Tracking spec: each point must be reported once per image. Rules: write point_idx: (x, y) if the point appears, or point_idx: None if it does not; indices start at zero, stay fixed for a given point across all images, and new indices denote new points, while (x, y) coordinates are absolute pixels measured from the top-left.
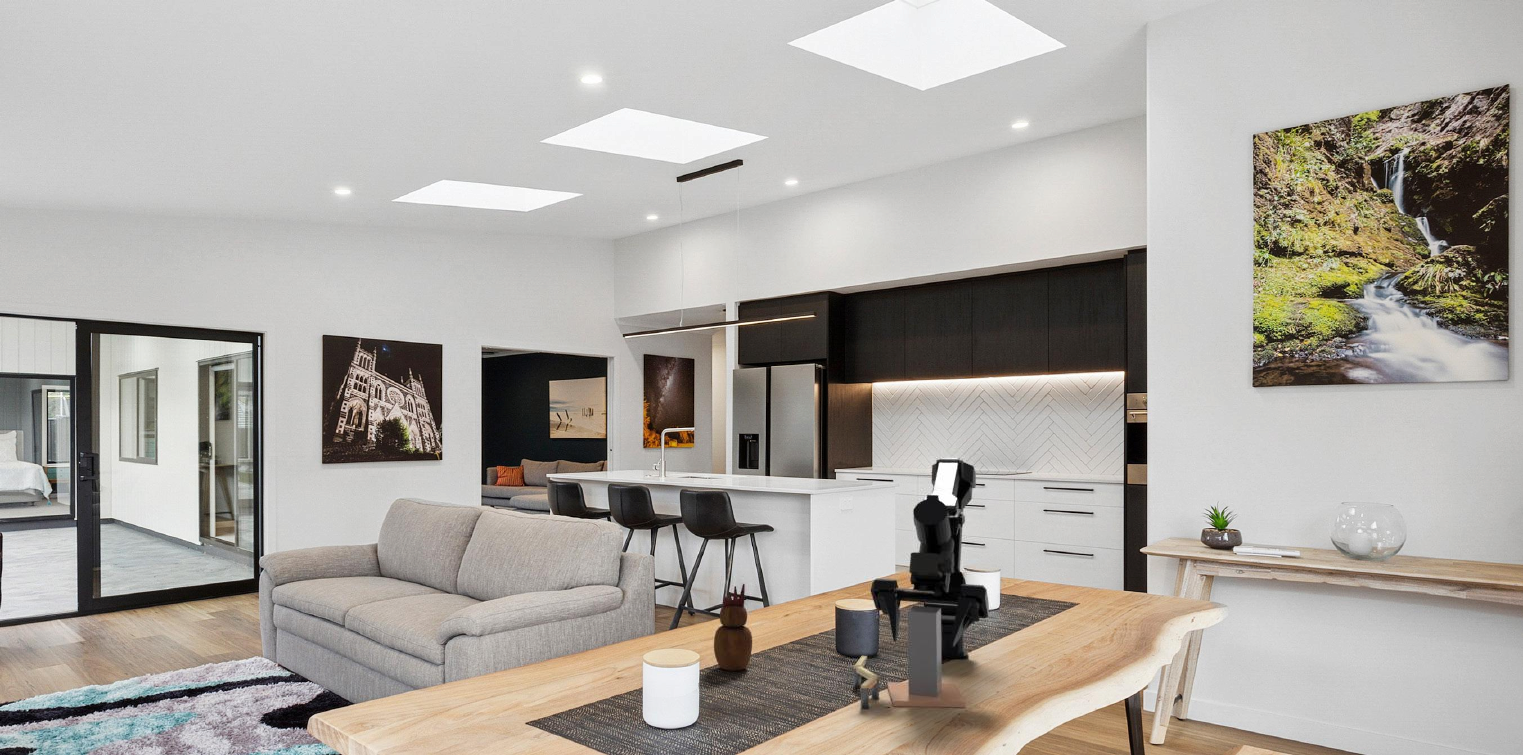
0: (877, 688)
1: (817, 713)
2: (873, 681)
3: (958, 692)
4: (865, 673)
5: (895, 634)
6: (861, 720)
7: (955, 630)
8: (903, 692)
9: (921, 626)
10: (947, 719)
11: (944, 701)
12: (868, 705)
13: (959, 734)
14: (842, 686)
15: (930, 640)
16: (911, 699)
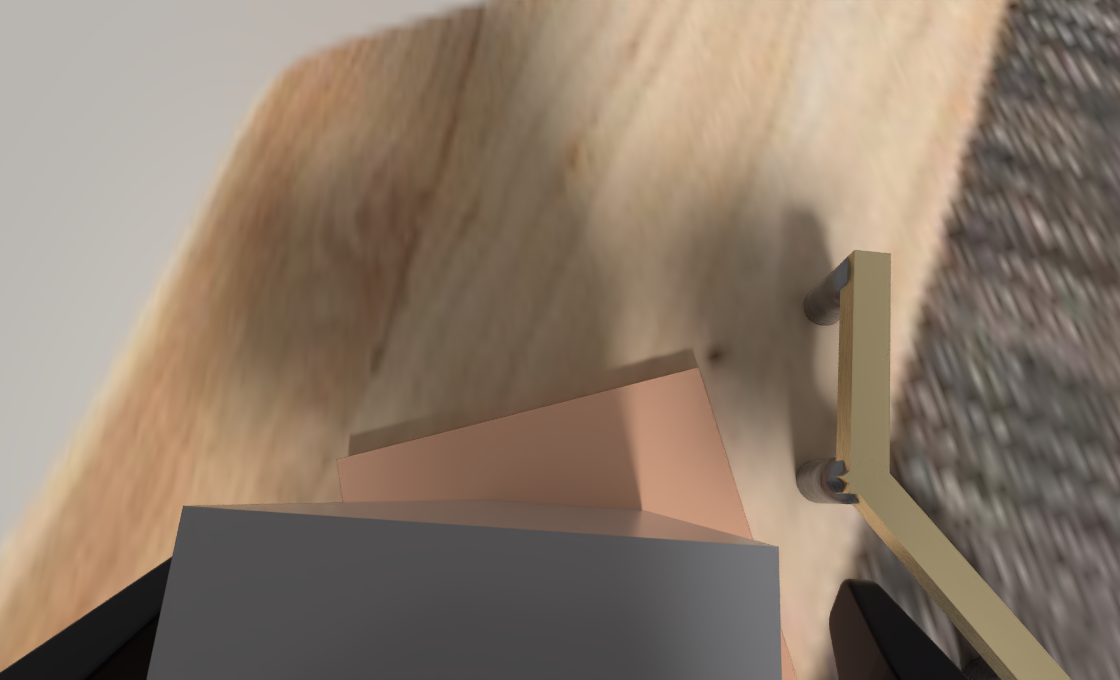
0: (821, 462)
1: (1005, 167)
2: (848, 383)
3: None
4: (959, 557)
5: (864, 610)
6: (786, 140)
7: (89, 636)
8: None
9: (520, 517)
10: (428, 262)
11: (441, 435)
12: (808, 302)
13: (377, 106)
14: (1078, 667)
15: (441, 505)
16: (611, 418)
